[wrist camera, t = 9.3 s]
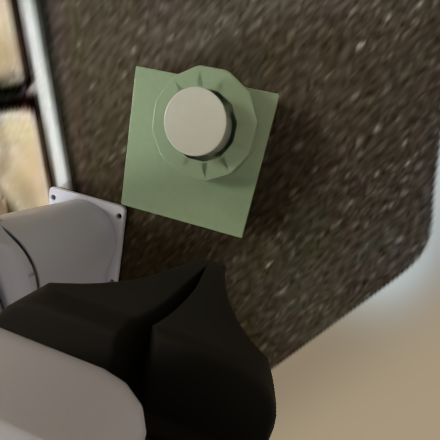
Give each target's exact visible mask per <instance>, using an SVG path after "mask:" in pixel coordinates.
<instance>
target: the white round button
mask: <svg viewBox="0 0 440 440" xmlns="http://www.w3.org/2000/svg"><path fill="white" fill-rule="evenodd" d="M164 127H165V132H166V135H167V138H168V139H169V141H170V143H171V144H172V145H173V146H174V147H175V148H176V149H177V150H178V151H180V152H181V153H183V154H185V155H188V156H211V155H214V154H216V153H218V152H219V151H221V150H222V149H223V148H224V147H225V145H226V144H227V143H228V141H229V139H230V136H231V132H232V119H231V115H230V113H229V111H228V109H227V107H226V106H225V105H224V104H223V102H222V101H221V100H220V99H219V98H218V97H217V96H216V95H215V94H214V93H213V92H211V91H210V90H208V89H205V88H202V87H189V88H185V89H183V90H181V91H180V92H178V93H177V94H176V95H175V96H174V97H173V98H172V99H171V100H170V102H169V103H168V106H167V108H166V111H165V115H164Z"/></svg>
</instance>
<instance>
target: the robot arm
mask: <svg viewBox="0 0 440 440" xmlns="http://www.w3.org/2000/svg"><path fill="white" fill-rule="evenodd" d="M55 196H56V198H55ZM126 213H127V210H126V208H125V206H123V205H120V204H116V203H113V202H109V201H106V200H102V199H99V198H95V197H92V196H88V195H84V194H81V193H77V192H74V191H70V190H67V189H63V188H60V187H51V188H50V194H49V205H45V206H40V207H35V208H31V209H26V210H21V211H16V212H12V213H7V214H3V215H0V440H269V438H270V435H271V433H272V430H273V428H274V424H275V418H276V400H275V391H274V384H273V379H272V374H271V369H270V364H269V361H268V359H267V358H266V357H265V355H264V354H263V353H262V352H261V351H260V350H259V349H258V348H257V347H256V346H255V345H254V344H253V342H252V341H251V340H250V339H249V337H248V336H247V335H246V333H245V332H244V330H243V329H242V327H241V325H240V324H239V322H238V320H237V318H236V316H235V314H234V312H233V309H232V307H231V304H230V301H229V298H228V294H227V290H226V284H225V270H226V267H225V265H223V264H220V263H216V262H213V261H210V260H207V259H203V258H200V257H199V258H196V259H194V260H192V261H189V262H187V263H185V264H182V265H180V266H178V267H175V268H172V269H169V270H167V271H164V272H161V273H158V274H154V275H151V276H147V277H142V278H137V279H131V280H124V281H119V273H120V264H121V256H122V247H123V239H124V230H125V221H126ZM119 214H121V216H122V217H120V216H119ZM112 279H113V280H114V282H113V281H112Z"/></svg>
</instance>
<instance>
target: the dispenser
mask: <svg viewBox="0 0 440 440" xmlns="http://www.w3.org/2000/svg"><path fill="white" fill-rule="evenodd" d="M189 87H202V88H205V89H208V90H210V91H211V92H213V93H214V94H215V95H216V96H217V97H218V98H219V99H220V100H221V101H222V102H223V104H224V105H225V106H226V107H227V109H228V111H229V113H230V115H231V119H232V132H231V136H230V139H229V141H228V143H227V144H226V145H225V147H224V148H223V149H222V150H221V151H219V152H218V153H216V154H214V155H211V156H188V155H185V154H183V153H181V152H180V151H178V150H177V149H176V148H175V147H174V146H173V145H172V144H171V143H170V141H169V139H168V138H167V135H166V132H165V127H164V115H165V111H166V108H167V106H168V103H169V102H170V100H171V99H172V98H173V97H174V96H175V95H176V94H177V93H178V92H180V91H181V90H183V89H185V88H189ZM279 96H280V94H277V93H272V92H267V91H262V90H257V89H252V88H247V87H244V86H243V85H242V84H241V83H240V82H239V81H238V80H237V79H236V78H235V77H234V76H233V75H232V74H231V73H230V72H229V71H227V70H224V69H218V68H213V67H208V66H202V65H200V66H199V65H198V66H196V67H193V68H191V69H189V70H186V71H184V72H182V73H180V74H175V73H170V72H165V71H160V70H155V69H150V68H145V67H139V66H136V72H135V82H134V91H133V100H132V109H131V118H130V128H129V137H128V146H127V155H126V164H125V173H124V183H123V192H122V201H121V204H122V205H126V206H129V207H133V208H136V209H140V210H144V211H147V212H151V213H154V214H158V215H161V216H165V217H168V218H172V219H176V220H179V221H183V222H186V223H190V224H193V225H197V226H200V227H204V228H208V229H211V230H215V231H218V232H222V233H225V234H229V235H232V236H236V237H240V238H242V236H243V233H244V231H245V228H246V224H247V221H248V217H249V213H250V209H251V206H252V202H253V198H254V194H255V191H256V187H257V183H258V179H259V176H260V172H261V168H262V164H263V160H264V157H265V153H266V149H267V145H268V142H269V138H270V134H271V130H272V127H273V123H274V119H275V115H276V112H277V108H278V104H279Z"/></svg>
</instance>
